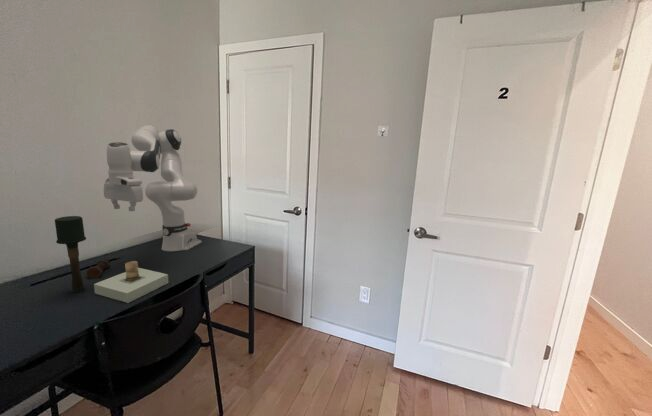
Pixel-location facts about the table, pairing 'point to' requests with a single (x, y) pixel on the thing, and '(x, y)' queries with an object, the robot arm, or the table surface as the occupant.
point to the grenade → (72, 245)
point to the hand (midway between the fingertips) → (124, 210)
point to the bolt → (98, 269)
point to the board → (130, 285)
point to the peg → (131, 270)
